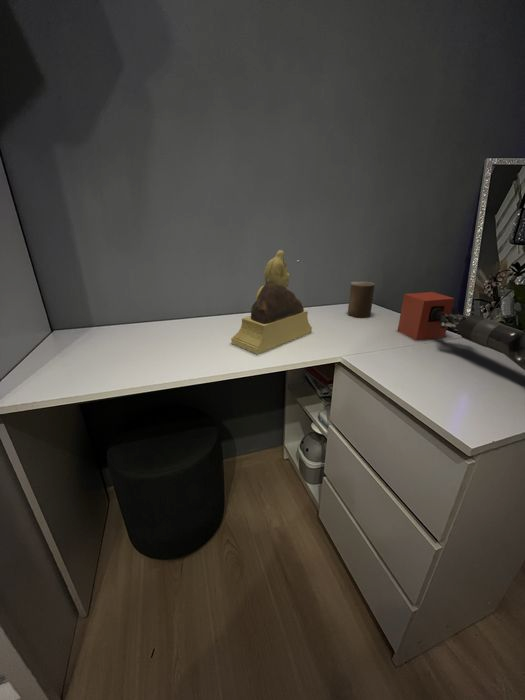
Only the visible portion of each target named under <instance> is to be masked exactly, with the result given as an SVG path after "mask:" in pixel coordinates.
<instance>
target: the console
mask: <svg viewBox="0 0 525 700" xmlns="http://www.w3.org/2000/svg"><path fill="white" fill-rule="evenodd" d="M454 302H455V297H450V296H448V295H444V294H441V293H438V292H435V291H427V292H414V293H403V299H402V304H401V310H400V316H399V320H398V325H397V332H399V333H401V334H403V335H404V336H407V337H409V338H411V339H412V340H414V341H421V340H430V339H437V338H438V339H439V338H445V337H446V334H447V330H448V326H447V327H445V328H441V327H440V324H439V322H440V320H436V321H434V320H432V319H429V315H430V310H431V308H433V307H438V308H441V309H442V310H443V313H446V314H452V311H453V310H452V309H453V306H454Z"/></svg>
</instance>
